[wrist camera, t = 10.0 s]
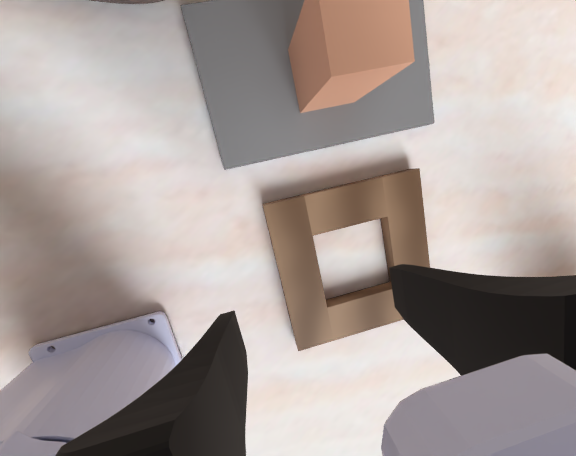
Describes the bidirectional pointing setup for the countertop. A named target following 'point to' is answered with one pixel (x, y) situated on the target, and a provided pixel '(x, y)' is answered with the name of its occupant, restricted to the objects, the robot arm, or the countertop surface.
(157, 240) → the countertop surface
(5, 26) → the countertop surface
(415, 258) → the walnut pocket plate
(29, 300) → the countertop surface
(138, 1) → the perforated stone tool
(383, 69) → the terracotta block
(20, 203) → the countertop surface
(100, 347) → the robot arm
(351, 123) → the slate mat
